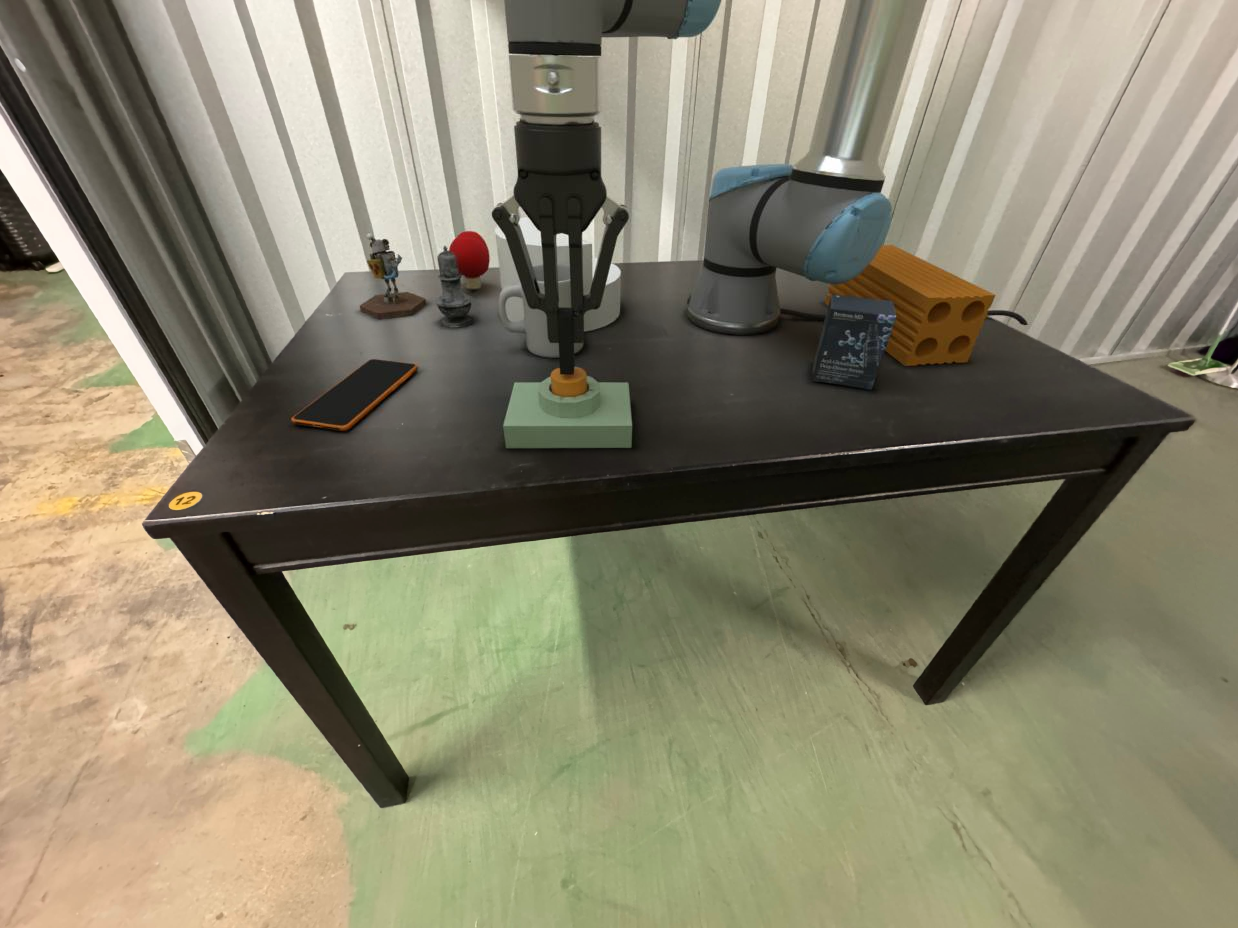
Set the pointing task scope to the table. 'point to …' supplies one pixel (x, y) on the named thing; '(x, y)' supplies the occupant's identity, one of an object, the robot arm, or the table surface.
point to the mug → (537, 314)
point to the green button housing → (569, 417)
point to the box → (853, 341)
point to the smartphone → (355, 395)
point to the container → (533, 243)
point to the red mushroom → (471, 257)
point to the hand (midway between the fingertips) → (567, 368)
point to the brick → (922, 307)
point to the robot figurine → (387, 268)
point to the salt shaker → (452, 293)
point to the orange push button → (569, 383)
